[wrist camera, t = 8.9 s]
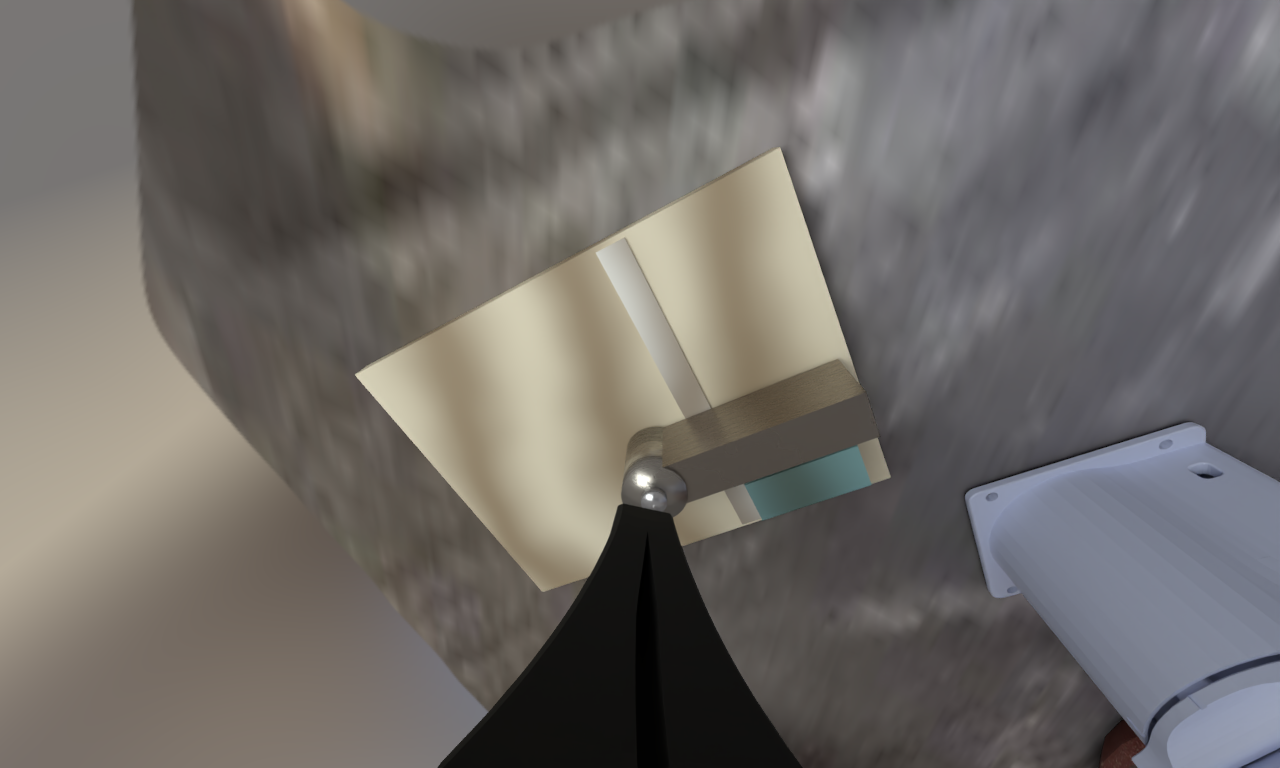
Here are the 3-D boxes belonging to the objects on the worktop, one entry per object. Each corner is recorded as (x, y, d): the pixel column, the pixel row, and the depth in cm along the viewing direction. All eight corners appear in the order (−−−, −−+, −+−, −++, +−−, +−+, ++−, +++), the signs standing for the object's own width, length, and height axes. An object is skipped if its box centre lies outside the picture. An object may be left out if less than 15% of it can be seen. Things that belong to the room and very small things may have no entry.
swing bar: (642, 481, 21) (639, 536, 18) (616, 439, 20) (608, 490, 17) (853, 404, 19) (889, 452, 16) (835, 352, 18) (871, 393, 15)
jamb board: (773, 147, 16) (803, 146, 12) (881, 464, 22) (922, 522, 18) (368, 365, 20) (309, 407, 17) (546, 577, 26) (529, 640, 23)
